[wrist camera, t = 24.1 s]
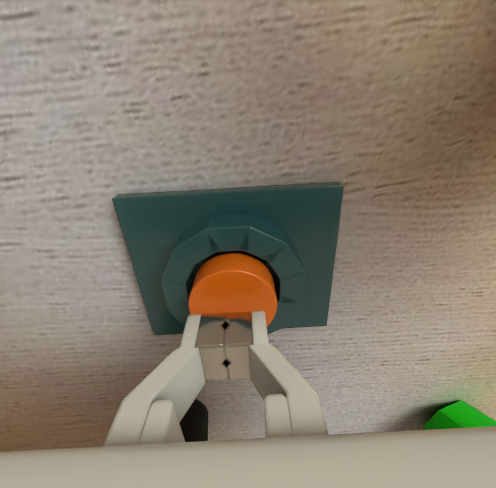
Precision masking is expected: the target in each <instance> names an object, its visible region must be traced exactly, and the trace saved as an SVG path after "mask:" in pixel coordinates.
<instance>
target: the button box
mask: <svg viewBox="0 0 496 488" xmlns="http://www.w3.org/2000/svg"><path fill="white" fill-rule="evenodd" d="M343 188H344V186H343V185H342V184H341V183H340V182H329V183H311V184H294V185H276V186H259V187H241V188H224V189H206V190H189V191H171V192H154V193H136V194H119V195H117V196H115V197H114V198H112V200H113V203H114V207H115V210H116V213H117V216H118V220H119V223H120V226H121V229H122V232H123V236H124V239H125V242H126V245H127V249H128V252H129V255H130V258H131V261H132V265H133V268H134V271H135V274H136V278H137V281H138V284H139V287H140V290H141V294H142V297H143V300H144V303H145V307H146V310H147V313H148V316H149V319H150V323H151V326H152V329H153V332H154V335H164V334H183V332H184V328H185V324H186V321H187V317H188V316H189V314H190V311H189V305H188V303H189V296H190V293H191V289H192V286H193V282H194V279H195V276H196V274H197V272H198V270H199V269H200V267H201V266H202V265H203V264H204V263H205V262H207V261H208V260H210V259H212V258H213V257H216V256H218V255H222V254H227V253H240V254H245V255H249V256H251V257H254V258H256V259H257V260H259V261H260V262H262V263H263V264H264V265H265V266H266V267H267V268H268V270H269V271H270V273H271V275H272V277H273V281H274V287H275V292H276V297H277V311H276V314H275V316H274V319H273V320H272V322H271V323H270V324H269V325H268V326H267V334H270V333H272V332H274V331H277V330H279V329H281V328H294V327H313V326H326V325H327V317H328V309H329V301H330V293H331V285H332V277H333V269H334V260H335V252H336V244H337V236H338V228H339V220H340V212H341V204H342V196H343Z"/></svg>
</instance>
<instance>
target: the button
mask: <svg viewBox="0 0 496 488" xmlns="http://www.w3.org/2000/svg"><path fill="white" fill-rule="evenodd" d="M188 305H189V311H190V314H216V313H236V312H251V314H252V311H264V312H265V317H266V326H268V325H269V324H270V323H271V322H272V320H273V319H274V316H275V314H276V311H277V297H276V292H275V287H274V281H273V277H272V275H271V273H270V271H269V270H268V268H267V267H266V266H265V265H264V264H263V263H262V262H260V261H259V260H257V259H256V258H254V257H251V256H249V255H245V254H240V253H227V254H222V255H218V256H216V257H213V258H212V259H210V260H208V261H207V262H205V263H204V264H203V265H202V266H201V267H200V269H199V270H198V272H197V274H196V276H195V279H194V282H193V286H192V289H191V293H190V296H189V303H188Z"/></svg>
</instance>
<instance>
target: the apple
mask: <svg viewBox="0 0 496 488" xmlns="http://www.w3.org/2000/svg"><path fill="white" fill-rule="evenodd" d="M491 426H496V421H495V420H493V419H492V418H490V417H488V416H487V415H485V414H483V413H482V412H480V411H478V410H477V409H475V408H473V407H472V406H470V405H468V404H467V403H465V402H463V401H462V400H460V401H458V402H456V403H453V404H451V405H449V406H447V407H445V408H442V409H440V410H438V411H437V413H436V414H435V415H434V416H433V417H432V418H431V419H430V420H429V421H428V422H427V423H426V424H425V425H424V426H423V427H424V430H433V429H452V428H472V427H491Z"/></svg>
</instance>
